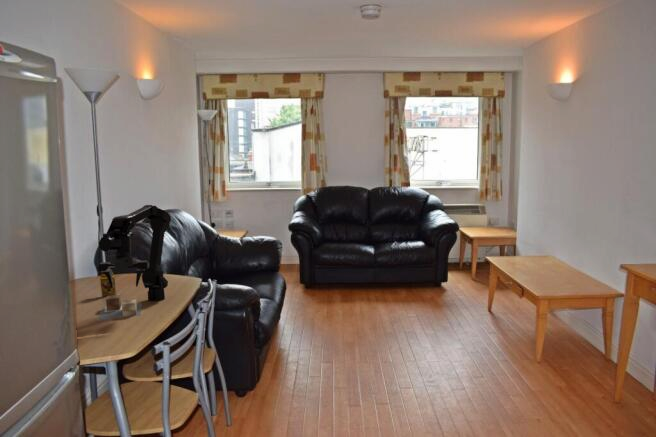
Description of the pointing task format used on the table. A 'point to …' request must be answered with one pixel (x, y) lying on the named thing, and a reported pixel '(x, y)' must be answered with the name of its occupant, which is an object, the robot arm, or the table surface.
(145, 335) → the table surface
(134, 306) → the birch block
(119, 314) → the grey base plate
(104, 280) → the condiment
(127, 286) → the table surface
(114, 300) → the walnut block
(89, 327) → the table surface
